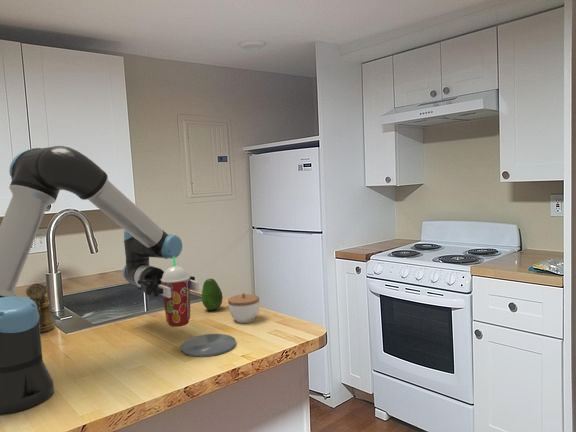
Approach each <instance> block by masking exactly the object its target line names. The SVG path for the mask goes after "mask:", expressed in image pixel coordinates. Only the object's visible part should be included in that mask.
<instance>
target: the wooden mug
mask: <svg viewBox="0 0 576 432" xmlns="http://www.w3.org/2000/svg"><path fill="white" fill-rule="evenodd" d="M25 293H26V296H27V297H28V298H29V299H32V300H33V301H34V302H35V303H36V305H37V309H38V312H39V325H40V334H42V333H46V332H50V331H53V330H54V329H55V328H56V326H55V321H54V320H53V317H52V313H51V312H52V311H51V308H50V306H51V303H50V300H49V299H48V296H47V293H48V290H47V287H46V286H45V285H44V284H41V283H33V284H31V285H30V286H28V287H27V289H26V291H25Z"/></svg>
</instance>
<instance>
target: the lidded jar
mask: <svg viewBox="0 0 576 432" xmlns="http://www.w3.org/2000/svg"><path fill="white" fill-rule="evenodd" d="M227 302H228V311H229V314H230V316H231V317H232V318H233V320H235V322H236V323H239V324H246V323H251V322H253V321H254V320H255V318H256V317H257V315H258V313H259V310H260V297H259V295H256V294H249V293H248V294H246V293H243V292H242V293H241V294H236V295H233V296H231V297H229V298H228V299H227Z"/></svg>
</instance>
